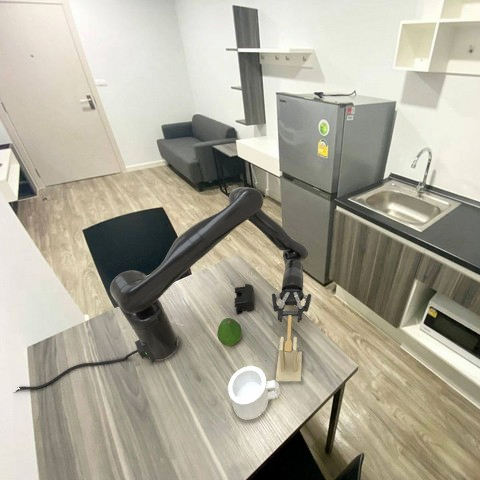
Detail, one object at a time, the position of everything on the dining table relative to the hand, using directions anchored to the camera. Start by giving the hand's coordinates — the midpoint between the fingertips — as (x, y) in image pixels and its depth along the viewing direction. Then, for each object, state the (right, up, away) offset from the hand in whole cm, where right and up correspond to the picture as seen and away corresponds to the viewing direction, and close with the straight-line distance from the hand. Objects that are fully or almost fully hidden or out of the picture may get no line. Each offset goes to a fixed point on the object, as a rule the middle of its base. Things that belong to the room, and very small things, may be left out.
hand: (289, 320), depth 83 cm
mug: (-10, -23, -5) cm, 25 cm away
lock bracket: (-1, -17, +4) cm, 17 cm away
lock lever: (0, -4, 0) cm, 4 cm away
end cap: (-21, -1, +25) cm, 32 cm away
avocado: (-22, -11, +11) cm, 27 cm away
